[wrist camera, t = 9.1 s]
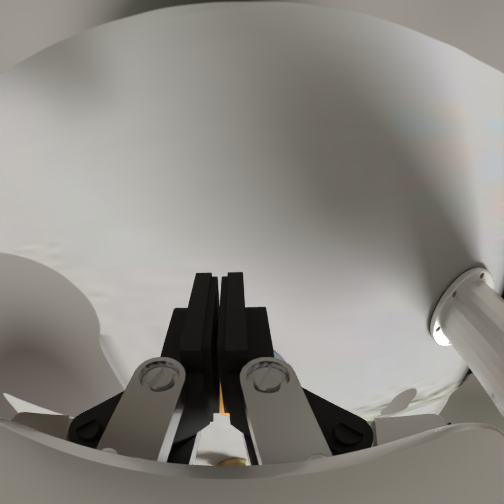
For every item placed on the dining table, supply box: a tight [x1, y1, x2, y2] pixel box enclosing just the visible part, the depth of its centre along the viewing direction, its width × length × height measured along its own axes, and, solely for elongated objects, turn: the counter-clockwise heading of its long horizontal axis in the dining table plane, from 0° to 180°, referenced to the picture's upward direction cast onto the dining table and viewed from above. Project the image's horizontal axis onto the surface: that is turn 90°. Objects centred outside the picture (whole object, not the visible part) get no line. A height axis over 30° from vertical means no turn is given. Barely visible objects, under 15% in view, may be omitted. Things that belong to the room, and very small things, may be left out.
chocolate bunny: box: [218, 458, 246, 466], centre depth 39 cm, size 6×8×10 cm
